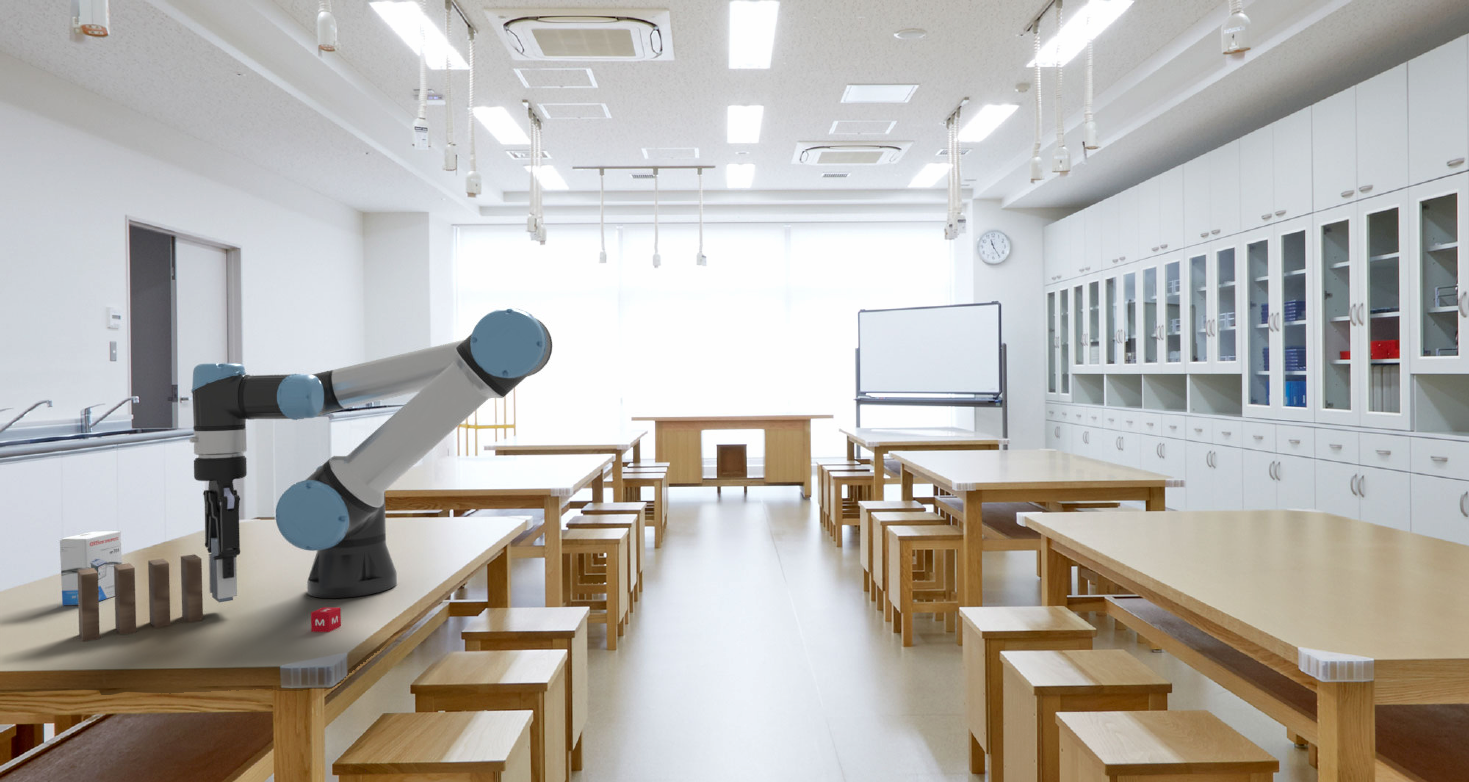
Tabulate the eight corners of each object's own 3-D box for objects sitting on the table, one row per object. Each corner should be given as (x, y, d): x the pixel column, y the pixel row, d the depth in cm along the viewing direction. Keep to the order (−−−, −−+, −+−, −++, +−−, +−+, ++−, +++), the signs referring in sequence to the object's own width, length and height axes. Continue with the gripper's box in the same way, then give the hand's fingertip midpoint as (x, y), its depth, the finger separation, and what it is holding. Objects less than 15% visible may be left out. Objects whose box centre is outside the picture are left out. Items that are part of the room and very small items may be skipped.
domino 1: (131, 625, 133) (129, 563, 133) (136, 631, 130) (134, 567, 130) (115, 628, 132) (113, 565, 132) (120, 634, 128) (118, 569, 128)
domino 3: (196, 613, 140) (194, 554, 140) (203, 619, 136) (201, 558, 136) (182, 616, 138) (180, 556, 138) (188, 622, 135) (187, 560, 135)
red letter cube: (329, 632, 128) (328, 612, 128) (311, 631, 128) (310, 612, 128) (341, 626, 131) (340, 607, 131) (323, 626, 131) (322, 607, 131)
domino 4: (225, 594, 143) (224, 536, 143) (233, 600, 139) (231, 540, 139) (212, 596, 141) (210, 538, 141) (219, 602, 138) (217, 541, 138)
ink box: (87, 605, 146) (85, 538, 146) (59, 606, 146) (57, 539, 146) (124, 593, 155) (123, 530, 155) (98, 593, 155) (96, 530, 155)
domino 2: (164, 619, 137) (163, 558, 136) (170, 625, 133) (168, 563, 133) (149, 622, 135) (148, 560, 135) (155, 628, 132) (153, 565, 131)
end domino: (95, 631, 130) (93, 567, 130) (99, 638, 127) (98, 572, 127) (79, 634, 129) (77, 569, 129) (83, 641, 125) (81, 574, 125)
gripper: (182, 454, 144) (185, 588, 144) (206, 460, 131) (209, 608, 131) (232, 451, 149) (234, 581, 149) (260, 456, 136) (262, 599, 136)
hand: (223, 593), depth 140 cm, fingers closed on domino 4, 5 cm apart
